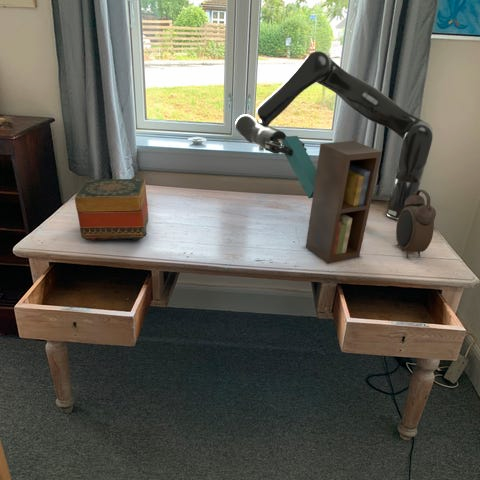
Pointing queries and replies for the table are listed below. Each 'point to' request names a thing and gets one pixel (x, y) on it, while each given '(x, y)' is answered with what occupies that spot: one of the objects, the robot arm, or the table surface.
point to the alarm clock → (415, 224)
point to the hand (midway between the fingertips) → (298, 152)
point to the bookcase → (341, 199)
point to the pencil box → (301, 164)
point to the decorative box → (112, 209)
